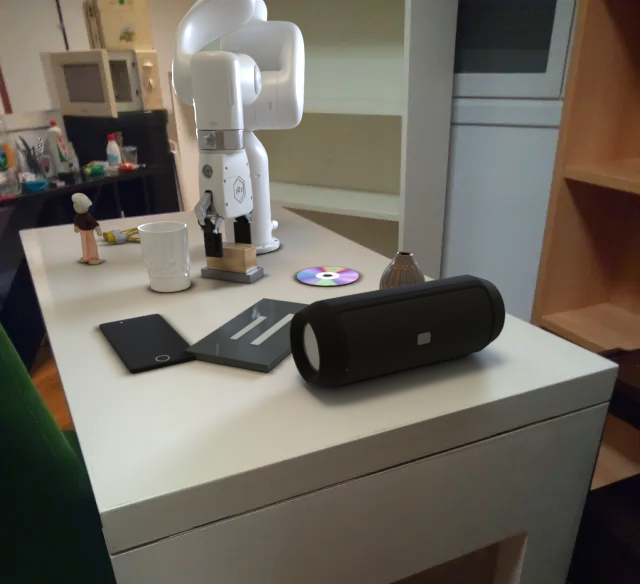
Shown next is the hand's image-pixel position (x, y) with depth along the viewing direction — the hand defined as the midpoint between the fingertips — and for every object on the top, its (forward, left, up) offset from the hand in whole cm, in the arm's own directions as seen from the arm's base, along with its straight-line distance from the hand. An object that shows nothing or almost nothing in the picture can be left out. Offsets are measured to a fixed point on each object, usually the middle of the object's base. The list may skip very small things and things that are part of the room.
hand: (229, 250), depth 103 cm
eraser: (-1, 0, -5) cm, 5 cm away
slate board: (+21, +18, -5) cm, 28 cm away
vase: (+5, +33, -5) cm, 33 cm away
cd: (-7, +16, -5) cm, 18 cm away
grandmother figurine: (+1, -30, -5) cm, 31 cm away
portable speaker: (+25, +38, -5) cm, 45 cm away
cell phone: (+30, +4, -5) cm, 30 cm away
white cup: (+8, -7, -5) cm, 12 cm away
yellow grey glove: (-19, -34, -5) cm, 40 cm away
